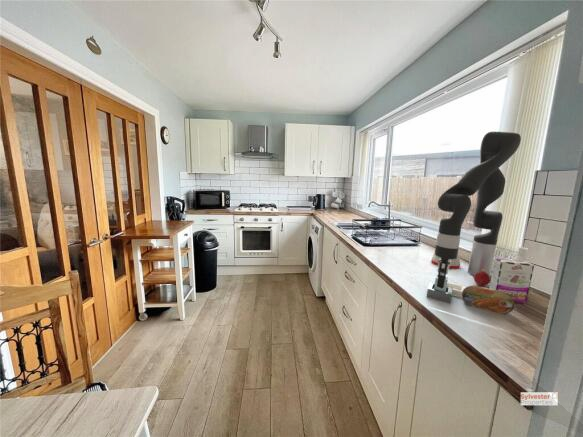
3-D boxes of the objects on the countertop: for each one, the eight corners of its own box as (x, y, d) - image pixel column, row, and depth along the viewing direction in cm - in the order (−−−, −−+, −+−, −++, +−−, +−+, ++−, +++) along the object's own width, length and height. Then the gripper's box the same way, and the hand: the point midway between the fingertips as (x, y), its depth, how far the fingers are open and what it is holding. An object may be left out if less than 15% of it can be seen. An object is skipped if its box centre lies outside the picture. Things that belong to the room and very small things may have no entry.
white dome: (438, 258, 145) (441, 235, 143) (463, 266, 134) (468, 240, 132) (426, 262, 137) (430, 237, 135) (453, 270, 126) (457, 243, 124)
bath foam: (526, 292, 104) (536, 248, 100) (523, 296, 99) (534, 251, 96) (505, 286, 109) (514, 244, 106) (502, 290, 105) (511, 247, 101)
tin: (460, 305, 90) (464, 285, 89) (459, 301, 93) (463, 281, 92) (512, 317, 83) (517, 295, 82) (509, 313, 86) (514, 292, 85)
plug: (445, 295, 96) (448, 274, 95) (444, 299, 93) (448, 277, 91) (433, 292, 99) (436, 272, 97) (432, 296, 95) (436, 275, 94)
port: (428, 290, 101) (430, 281, 101) (450, 296, 97) (452, 286, 96) (426, 297, 95) (427, 287, 94) (449, 304, 90) (451, 294, 90)
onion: (491, 290, 105) (494, 273, 103) (476, 288, 106) (480, 271, 104) (483, 284, 110) (486, 268, 109) (469, 282, 111) (472, 266, 110)
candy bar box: (517, 298, 98) (526, 260, 95) (526, 304, 93) (535, 264, 91) (486, 294, 101) (494, 257, 98) (494, 299, 96) (501, 261, 93)
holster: (443, 287, 105) (444, 281, 104) (463, 292, 101) (464, 286, 100) (442, 293, 99) (443, 286, 99) (463, 299, 95) (464, 292, 95)
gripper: (458, 251, 84) (451, 293, 87) (459, 243, 96) (452, 280, 98) (434, 246, 88) (428, 287, 91) (437, 239, 100) (432, 275, 103)
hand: (440, 283), depth 95 cm, fingers open, 8 cm apart
